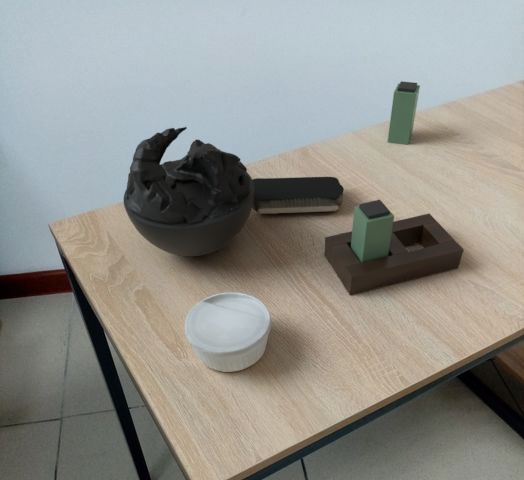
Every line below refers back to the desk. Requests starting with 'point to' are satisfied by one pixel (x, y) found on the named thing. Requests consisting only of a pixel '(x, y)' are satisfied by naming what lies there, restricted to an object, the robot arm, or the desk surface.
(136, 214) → the dark sculpted bowl
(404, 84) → the green capped post
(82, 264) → the desk surface
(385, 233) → the green square peg
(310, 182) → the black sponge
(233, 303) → the ramekin
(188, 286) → the desk surface
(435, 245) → the socket block
